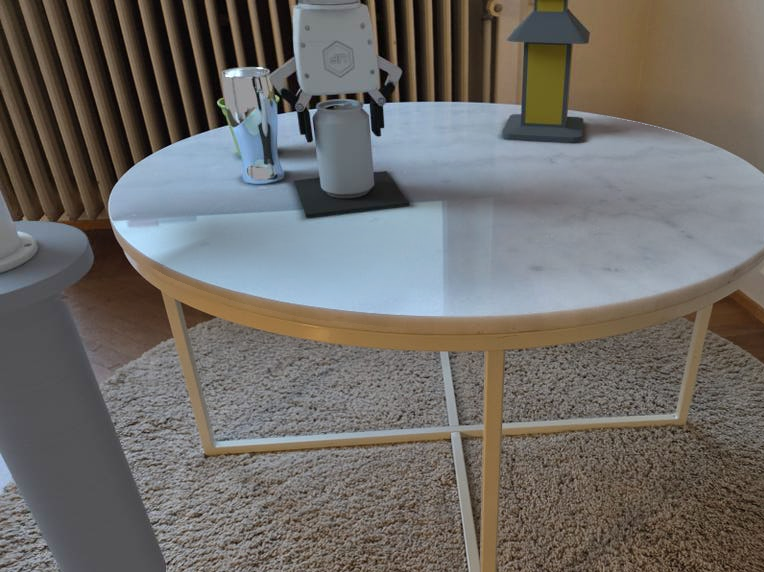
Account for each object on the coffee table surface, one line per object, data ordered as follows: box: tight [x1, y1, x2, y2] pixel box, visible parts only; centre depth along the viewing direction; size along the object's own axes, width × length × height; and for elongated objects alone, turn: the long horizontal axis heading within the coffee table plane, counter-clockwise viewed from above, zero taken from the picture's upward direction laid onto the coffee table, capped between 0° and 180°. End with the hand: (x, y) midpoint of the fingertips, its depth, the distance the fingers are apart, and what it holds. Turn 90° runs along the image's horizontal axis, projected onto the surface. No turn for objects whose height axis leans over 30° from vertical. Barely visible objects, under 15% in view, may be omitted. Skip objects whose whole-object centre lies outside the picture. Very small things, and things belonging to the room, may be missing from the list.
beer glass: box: [220, 66, 285, 185], centre depth 98 cm, size 7×7×15 cm
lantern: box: [501, 0, 591, 144], centre depth 117 cm, size 14×14×30 cm
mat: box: [293, 170, 410, 218], centre depth 96 cm, size 14×14×1 cm
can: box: [312, 98, 374, 198], centre depth 93 cm, size 8×8×12 cm
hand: (343, 136), depth 92 cm, fingers open, 8 cm apart
